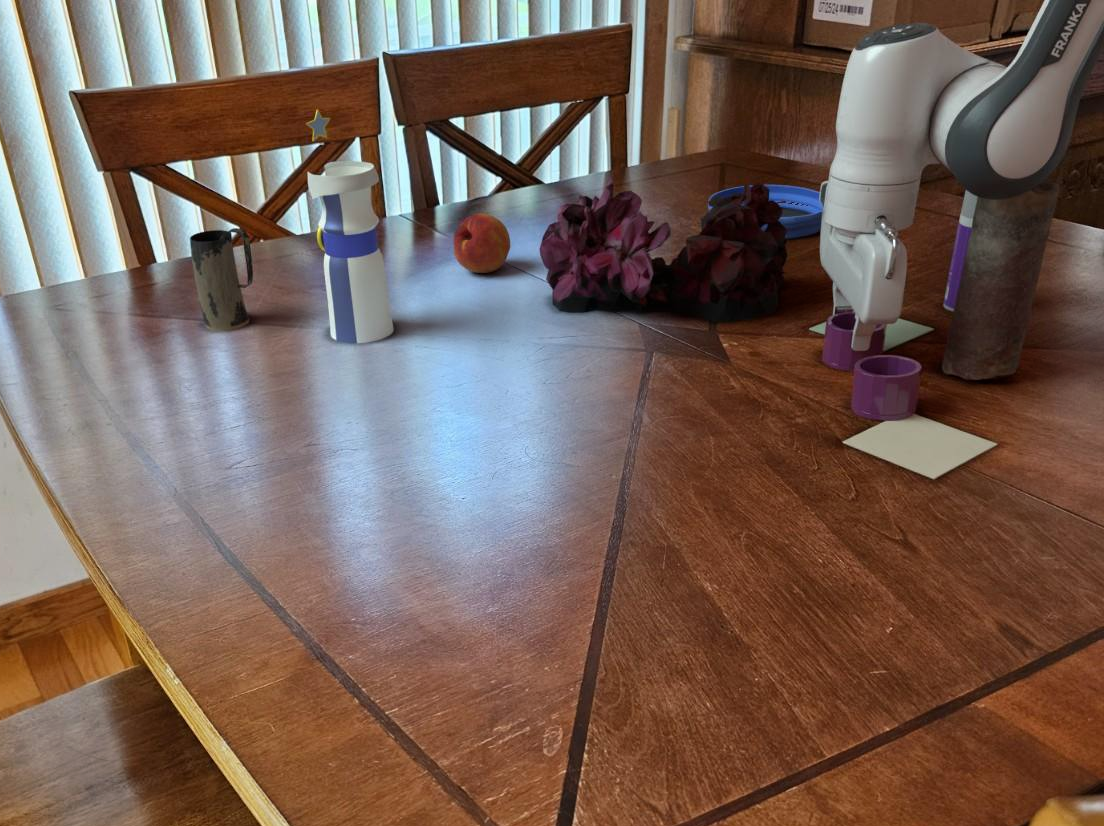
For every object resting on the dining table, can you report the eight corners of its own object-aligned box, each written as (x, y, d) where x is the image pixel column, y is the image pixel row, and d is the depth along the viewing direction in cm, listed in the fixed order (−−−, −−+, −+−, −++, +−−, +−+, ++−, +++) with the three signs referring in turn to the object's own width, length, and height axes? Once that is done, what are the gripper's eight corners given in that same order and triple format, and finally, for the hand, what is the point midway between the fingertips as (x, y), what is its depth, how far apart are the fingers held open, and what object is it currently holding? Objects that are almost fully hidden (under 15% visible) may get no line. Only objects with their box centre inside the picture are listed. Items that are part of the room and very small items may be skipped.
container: (962, 317, 130) (988, 186, 122) (934, 305, 134) (958, 177, 125) (992, 310, 132) (1020, 180, 123) (964, 298, 135) (989, 171, 127)
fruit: (446, 268, 154) (442, 210, 149) (499, 259, 156) (497, 202, 151) (465, 284, 147) (461, 224, 143) (520, 275, 150) (518, 215, 145)
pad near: (997, 446, 103) (997, 443, 102) (934, 481, 98) (934, 478, 98) (905, 413, 109) (906, 410, 109) (842, 444, 104) (842, 441, 104)
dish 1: (892, 361, 120) (898, 321, 118) (856, 377, 117) (862, 336, 115) (845, 346, 124) (850, 307, 122) (810, 361, 121) (815, 321, 119)
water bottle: (312, 341, 132) (279, 120, 118) (350, 317, 139) (323, 105, 125) (370, 350, 129) (344, 123, 115) (406, 325, 136) (385, 108, 122)
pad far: (933, 331, 127) (934, 328, 127) (880, 354, 122) (881, 351, 122) (862, 309, 134) (862, 307, 133) (808, 330, 129) (809, 328, 128)
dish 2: (928, 407, 109) (934, 364, 107) (890, 426, 106) (895, 381, 104) (876, 392, 114) (880, 350, 111) (838, 409, 111) (841, 367, 108)
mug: (195, 329, 138) (175, 233, 131) (219, 314, 142) (201, 220, 135) (250, 335, 135) (232, 237, 128) (272, 319, 139) (256, 223, 133)
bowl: (682, 227, 165) (683, 203, 163) (755, 201, 175) (757, 178, 173) (782, 250, 154) (784, 224, 152) (853, 221, 164) (857, 197, 162)
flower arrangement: (774, 273, 146) (786, 155, 138) (801, 326, 130) (817, 196, 121) (541, 279, 148) (538, 163, 139) (539, 333, 132) (536, 205, 123)
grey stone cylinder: (993, 357, 120) (1034, 165, 109) (1031, 382, 114) (1079, 183, 103) (928, 364, 119) (962, 172, 108) (963, 391, 113) (1003, 191, 102)
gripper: (932, 233, 103) (906, 372, 110) (875, 178, 119) (855, 302, 127) (864, 234, 103) (843, 373, 111) (817, 180, 120) (801, 304, 127)
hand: (849, 335), depth 119 cm, fingers closed on dish 1, 6 cm apart
